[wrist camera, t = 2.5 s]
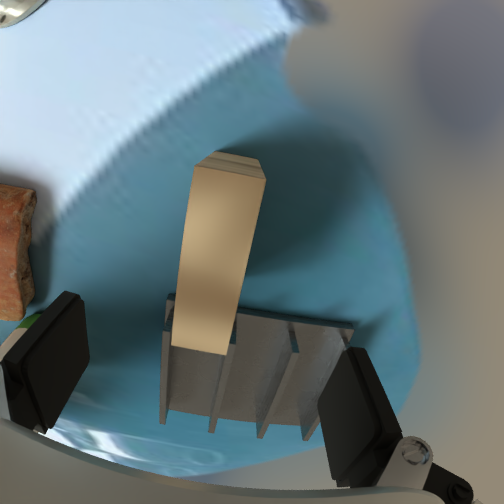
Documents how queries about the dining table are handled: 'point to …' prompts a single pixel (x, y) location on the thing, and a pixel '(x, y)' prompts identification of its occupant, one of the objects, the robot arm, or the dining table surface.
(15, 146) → the dining table surface
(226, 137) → the dining table surface
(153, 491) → the robot arm
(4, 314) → the ceramic shard
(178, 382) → the rack
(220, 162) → the oak board
